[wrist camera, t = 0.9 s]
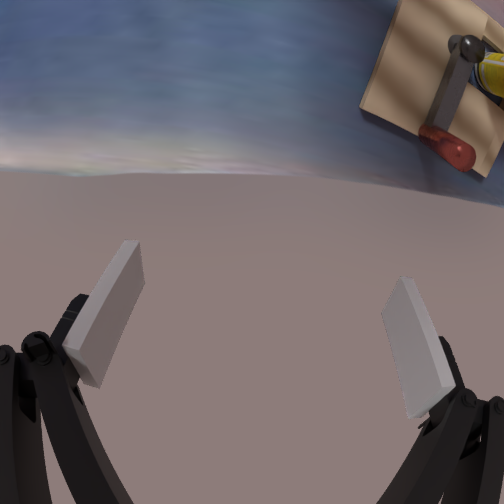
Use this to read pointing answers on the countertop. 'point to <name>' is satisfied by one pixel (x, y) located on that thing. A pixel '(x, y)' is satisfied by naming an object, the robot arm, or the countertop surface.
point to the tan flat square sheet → (435, 73)
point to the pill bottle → (491, 73)
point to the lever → (452, 105)
